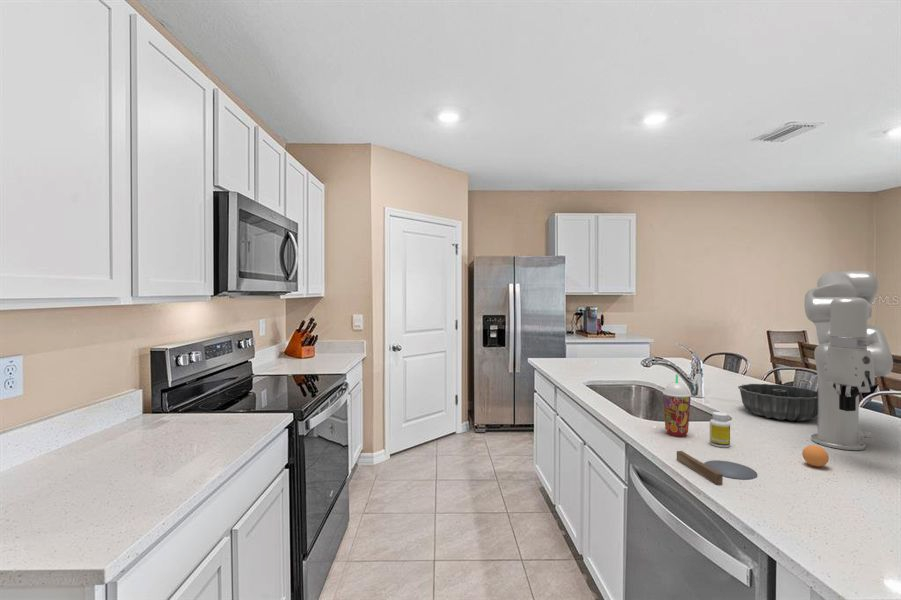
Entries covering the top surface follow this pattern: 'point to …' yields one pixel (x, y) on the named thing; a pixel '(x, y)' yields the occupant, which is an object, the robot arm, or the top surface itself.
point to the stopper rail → (700, 468)
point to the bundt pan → (780, 401)
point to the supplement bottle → (720, 430)
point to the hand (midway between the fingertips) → (847, 410)
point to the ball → (815, 456)
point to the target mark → (732, 469)
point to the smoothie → (676, 409)
